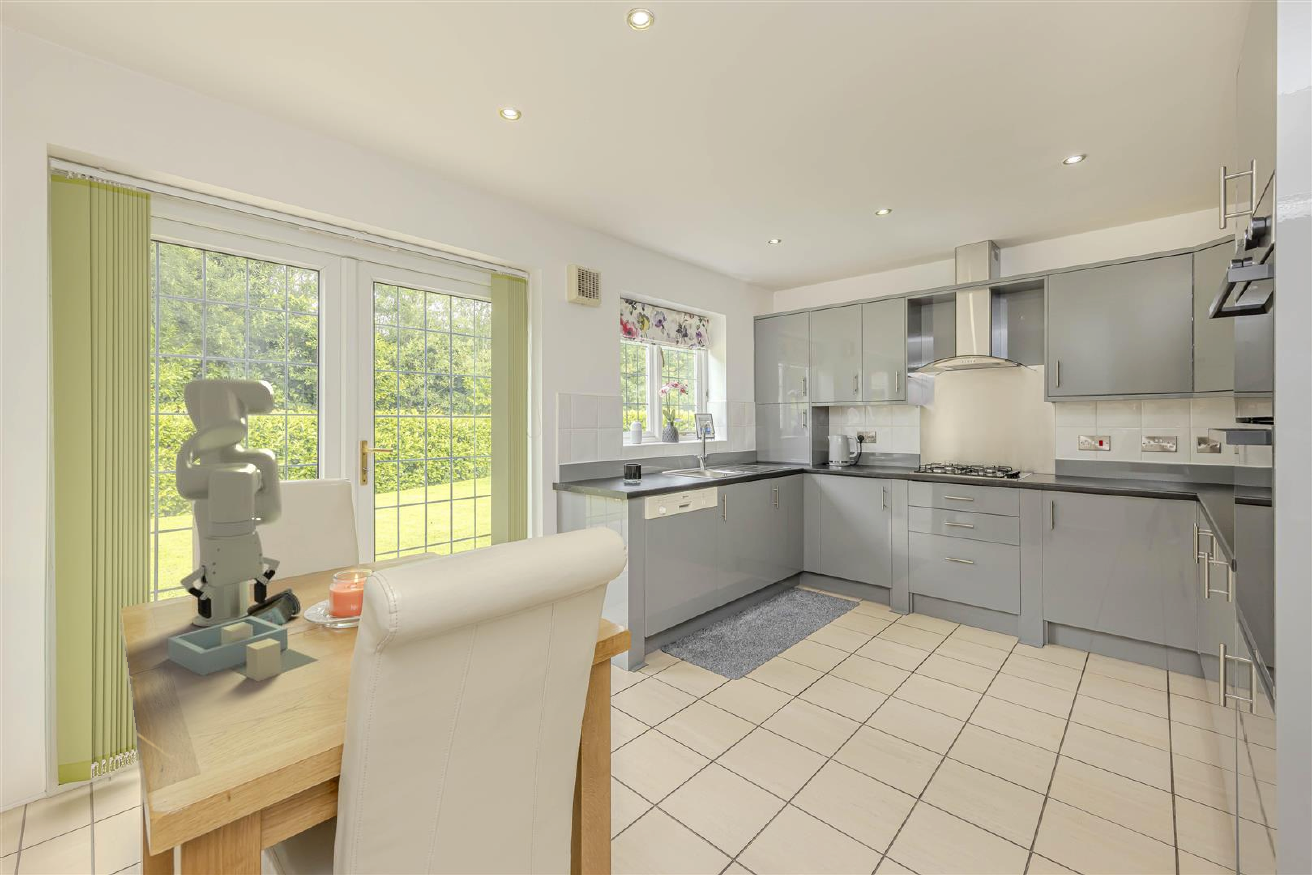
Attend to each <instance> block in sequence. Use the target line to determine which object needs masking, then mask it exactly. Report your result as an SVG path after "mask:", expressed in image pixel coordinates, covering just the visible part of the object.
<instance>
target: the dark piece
mask: <svg viewBox="0 0 1312 875" xmlns="http://www.w3.org/2000/svg"><path fill="white" fill-rule="evenodd" d="M250 606H251V607H249V608H248V609H247V613H248V616H253V617H256V618H259V619H262V620H265V621H268V622H271V623H273V624H276V625H279V626H280V625H281V624H283V625H285V624H286V623H287V622H288V621H289V619H290V618H291V617H292V616H296V615H298V614H300V613H301V602H300V600H299V599H298V597H297V596H296V595H295V594H294V593H293V590H292V589H291V588H288V589H285V590H283V591H281V592H278V593H276V594H274V595H272V596H271V597H268V598H265V604H259V603H256V604H252V605H250Z"/></svg>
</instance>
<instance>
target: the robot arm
mask: <svg viewBox="0 0 1312 875" xmlns="http://www.w3.org/2000/svg"><path fill="white" fill-rule="evenodd" d="M275 398H276V397H275V392H274V389H273V387H272V385H271V384H270V383H269V382H268V381H266V380H259V379H240V378H238V379H237V378H236V379H234V378H202V379H201V378H200V379H196V380H192V381H189V382H188V383H186V385H185V386H184V388H183V399H184V404H185V408H186V411H187V413H188V416H189V418H190V420H191V422H192V424H193V426H194V428H195V429H196V432H195V433H194V434H192V435H190V436H189V438H187V439H186V440H185V441H184V442H183V444H182V445H181V447H180V448H179V450H178V452H177V454H176V460H175V485H176V490H177V493H178V495H179V497H181V498H182V499H183V500H185V501H192V502H194V503H193V504H194V505H193V512H194V514H193V515H194V520H195V524H196V528H197V534H198V542H199V543H198V545H199V568H198V569H196V570H195V571H193V572H192V573H189V574H188V575H187V576H185V577H183V578H182V579H180V581H179V582H180V583H179V584H180V585H181V586H182V588H184V590H185V591H186V592H187V593H188V594H189V595H192V596H193V597H195V598H197V613H198V614H197V615H196V616H194V617H193V619H192V623H193V625H194V626H196V627H197V626H199V627H212V626H216V625H220V624H223V623H227V622H231V621H235V620H238V619H242V618H246V617H250V616H248V613H247V609H248V608H249V607H251V606H252V605H251V604H250V602H251V601H250V581H253V580H254V581H255V583H254V584H253V599H254V603H256V604H258V603H259V604H265V600H266V599H267V596H268V590H267V585H268V584H269V583H270V581H271V579H272V578H273V577H274V576H275V574H276V571H277V569H278V568H279V566H280V560H279V559H278V560H277V559H273V558H270V557H266V556H264V555H263V554H264V553H263V548H262V547H263V546H262V542H261V539H260V535H259V531H257V529H256V528H257V527H258V526H268V525H272V524H275V523H277V522H279V520H280V519H281V516H282V508H283V507H282V495H281V484H280V482H281V481H280V475H279V473H280V472H279V465H278V464H279V463H278V460H277V456H276V454H275V453H274V452H273V451H272V450H271V449H268V448H261V447H260V448H243V447H242V442H243V440H245V438H246V437H247V435H248V433H249V430H248V422H247V421H248V420H247V415H269V414H271V413H272V412H273V410H274V408H275V402H276V399H275ZM197 460H199V464H194V463H195V462H196V461H197ZM265 565H268V568H267V569H266V570H264V569H265V568H264V566H265ZM264 571H265V572H264ZM197 580H199V581H198V582H199V583H200V586H199V588H197V587H195V585H194V583H195V582H196V581H197Z"/></svg>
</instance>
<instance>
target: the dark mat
mask: <svg viewBox="0 0 1312 875" xmlns="http://www.w3.org/2000/svg"><path fill="white" fill-rule="evenodd" d="M280 655H281V673H280V674H277V675H276V676H278V675H281V674H283V673H287V672H290V671H292V670H294V669H297V668H301V667H304V666H306V665H309V664H311V663H314V662H317V661H318V659H317V658H314V657H312V656H308V655H306V654H304V653H301V652H299V651H297V650H294V649H290V648H286V649H283V650H280ZM228 668H229V670H231V671H234V672H236V673H238V674H240V675H242V676H244V677H247V662H243V663H240V664H237V665H234V666H231V667H228ZM247 678H249V677H247ZM269 678H271V677H269ZM269 678H266V679H269ZM249 679H250V678H249ZM266 679H263V680H260V681H256V682H261V681H264V680H266Z"/></svg>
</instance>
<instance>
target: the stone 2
mask: <svg viewBox="0 0 1312 875" xmlns="http://www.w3.org/2000/svg"><path fill="white" fill-rule="evenodd" d="M280 652H281V650H280V642H278V641H275V640H273V639H270V638H269V639H265V640H262V641H259V642H255V643H252V644H249V645H246V654H247V661H246V663H247V678H248V677H249V679H251V680H253V681H254V682H257V681H258V682H261V681H264V680H266V678H267V679H269V677H270V678H273V677H275V676H278V675H281V674H282V673H281V655H280ZM280 673H281V674H280ZM277 674H278V675H277ZM263 679H264V680H263ZM260 680H261V681H260Z"/></svg>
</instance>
